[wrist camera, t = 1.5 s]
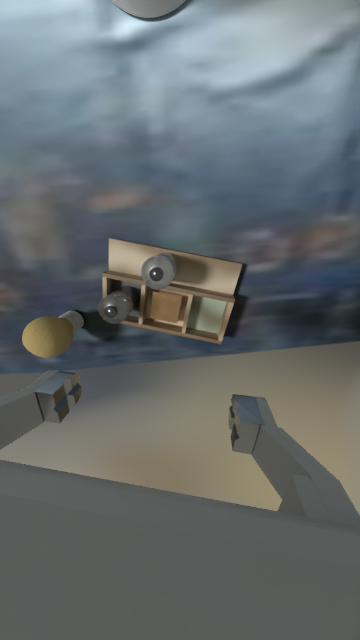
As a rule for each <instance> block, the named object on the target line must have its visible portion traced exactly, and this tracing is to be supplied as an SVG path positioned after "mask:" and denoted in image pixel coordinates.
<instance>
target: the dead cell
mask: <svg viewBox="0 0 360 640" xmlns="http://www.w3.org/2000/svg"><path fill="white" fill-rule="evenodd" d="M139 302H140V296H139V294H138V292H137V291H136V290H135V289H134V288H133V287H130V286H123V287H121V288H119V289H117V290H116V291H114V292H113V293H111V294H110V295H108V296H106V297H105V298H103V299H102V300H101V301H100V302H99V304H98V311H99V314H100V316H101V317H102V318H103V319H104V320H105V321H106V322H108V323H111V324H119V323H121V322H122V321H123V320H124V319H125V318H126V317H127V316H128V315H129V314H130V313H131V312H132V311H133V310H134V309H135V308H136V307H137V306H138V304H139Z"/></svg>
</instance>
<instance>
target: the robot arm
mask: <svg viewBox="0 0 360 640" xmlns="http://www.w3.org/2000/svg"><path fill="white" fill-rule="evenodd" d="M111 1H112V2H113V3H114V4H115V5H117V6H118V7H119V8H121V9H122V10H124V11H125V12H127V13H129V14H131V15H134V16H138V17H143V18H153V17H159V16H162V15H165V14H167V13H169V12H171V11H173V10H175V9H176V8H178V7H179V6H180V5H182V4H183V3H184V2H185V1H186V0H111ZM79 381H80V378H79V375H78V374H75V373H69V372H63V371H55V370H49V371H47V372H45V373H44V374H43V375H42V376H40V377H39V378H38V379H36V380H35V381H34V382H32V383H31V384H30V385H28V386H27V387H26V388H25V389H23V390H18V391H15V392H13V393H10V394H8V395H5V396H2V397H0V450H1V449H2V448H4V447H5V446H7V445H9V444H10V443H12V442H13V441H15V440H16V439H18V438H20V437H21V436H23V435H24V434H26V433H27V432H29V431H31V430H32V429H34V428H35V427H37V426H38V425H40V424H42V423H43V422H44V421H46V422H55V423H61V422H62V420H63V419H64V418H65V417H66V415H67V414H68V413H69V411H70V407H72V406H74V405H76V404H77V402H78V401H79V399H80V396H81V393H82V388H81V386H80V385H79V384H78V382H79ZM231 403H232V406H231V407H230V408H229V428H230V429H231V430H232V433H231V443H232V449H233V451H236V452H241V453H246V454H251V455H252V456H253V458H254V459H255V461H256V462H257V463H258V465H259V467H260V468H261V469H262V471H263V472H264V474H265V475H266V477H267V478H268V480H269V481H270V483H271V484H272V485H273V487H274V488H275V490H276V491H277V493H278V494H279V495H280V497H281V498H282V502H281V504H280V506H279V509H278V511H272V510H267V509H261V508H256V507H251V506H245V505H240V504H235V503H229V502H224V501H218V500H213V499H208V498H203V497H197V496H192V495H186V494H181V493H175V492H170V491H165V490H159V489H154V488H149V487H143V486H138V485H133V484H127V483H122V482H117V481H111V480H106V479H100V478H95V477H89V476H84V475H79V474H74V473H68V472H63V471H57V470H52V469H47V468H41V467H36V466H30V465H25V464H20V463H14V462H9V461H4V460H0V640H360V516H359V514H358V513H357V510H356V509H355V507H354V505H353V503H352V502H351V500H350V498H349V497H348V495H347V493H346V491H345V490H344V488H343V486H342V485H341V483H340V481H339V480H338V479H336V477H334V476H333V475H332V474H331V473H330V472H329V471H328V470H327V469H326V468H325V467H323V466H322V465H321V464H320V463H319V462H318V461H317V460H316V459H315V458H314V457H313V456H311V455H310V454H309V453H308V452H307V451H306V450H305V449H304V448H303V447H301V445H299V444H298V443H297V442H296V441H295V440H294V439H293V438H292V437H291V436H290V435H288V434H287V433H286V432H285V431H284V430H283V429H282V428H279V427H277V424H276V422H275V419H274V417H273V415H272V412H271V410H270V408H269V405H268V403H267V400H266V399H265V398H262V397H252V396H244V395H236V394H233V395H232V398H231Z"/></svg>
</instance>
